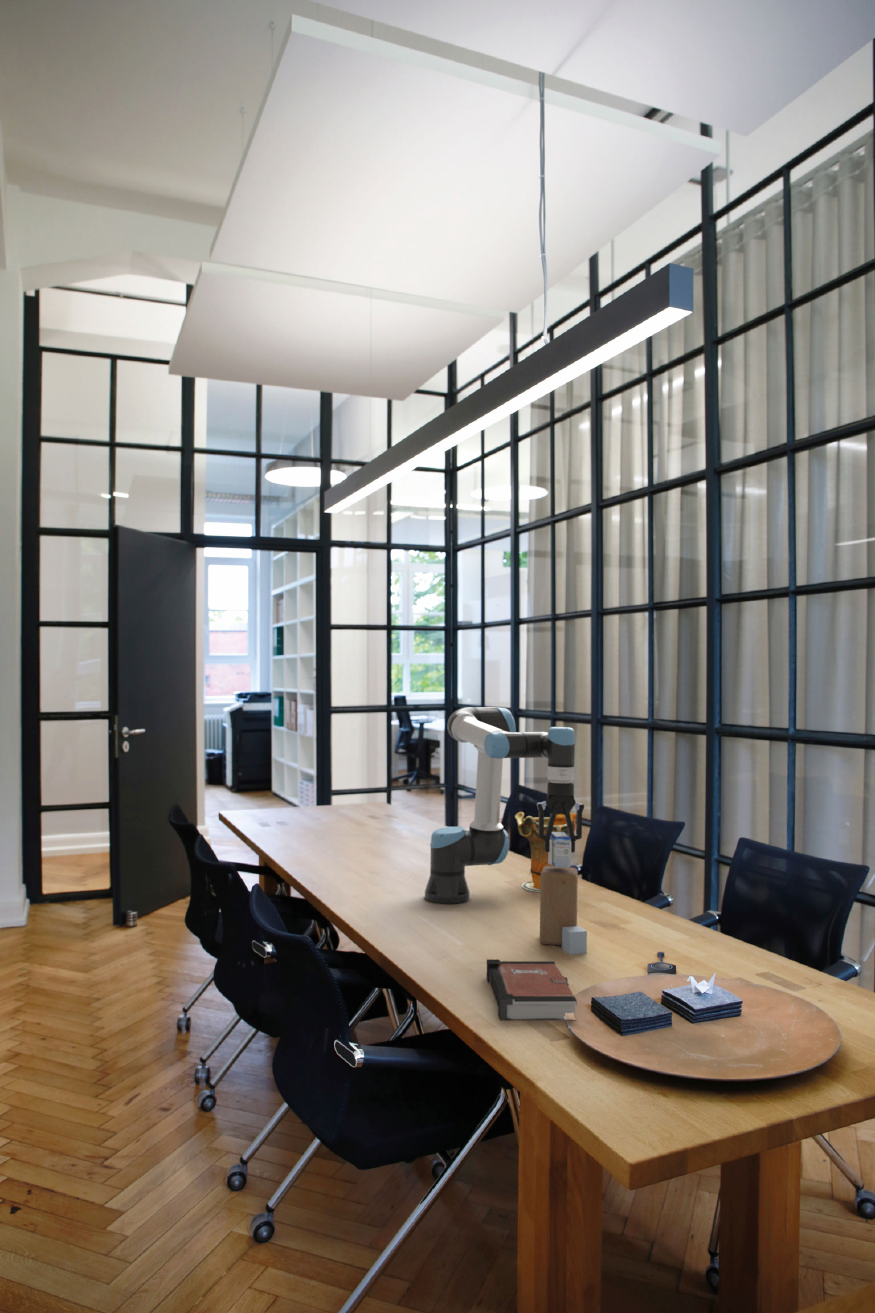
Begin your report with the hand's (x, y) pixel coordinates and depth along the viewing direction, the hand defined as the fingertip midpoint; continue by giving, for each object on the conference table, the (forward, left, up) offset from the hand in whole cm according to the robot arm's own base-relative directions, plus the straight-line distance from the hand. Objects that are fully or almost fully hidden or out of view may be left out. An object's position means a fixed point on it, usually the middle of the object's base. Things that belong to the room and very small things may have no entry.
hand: (559, 863), depth 240 cm
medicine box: (0, 0, -1) cm, 1 cm away
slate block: (+3, -9, -22) cm, 24 cm away
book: (-13, -44, -23) cm, 51 cm away
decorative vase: (+5, +63, -22) cm, 67 cm away
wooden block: (0, 0, -22) cm, 22 cm away
